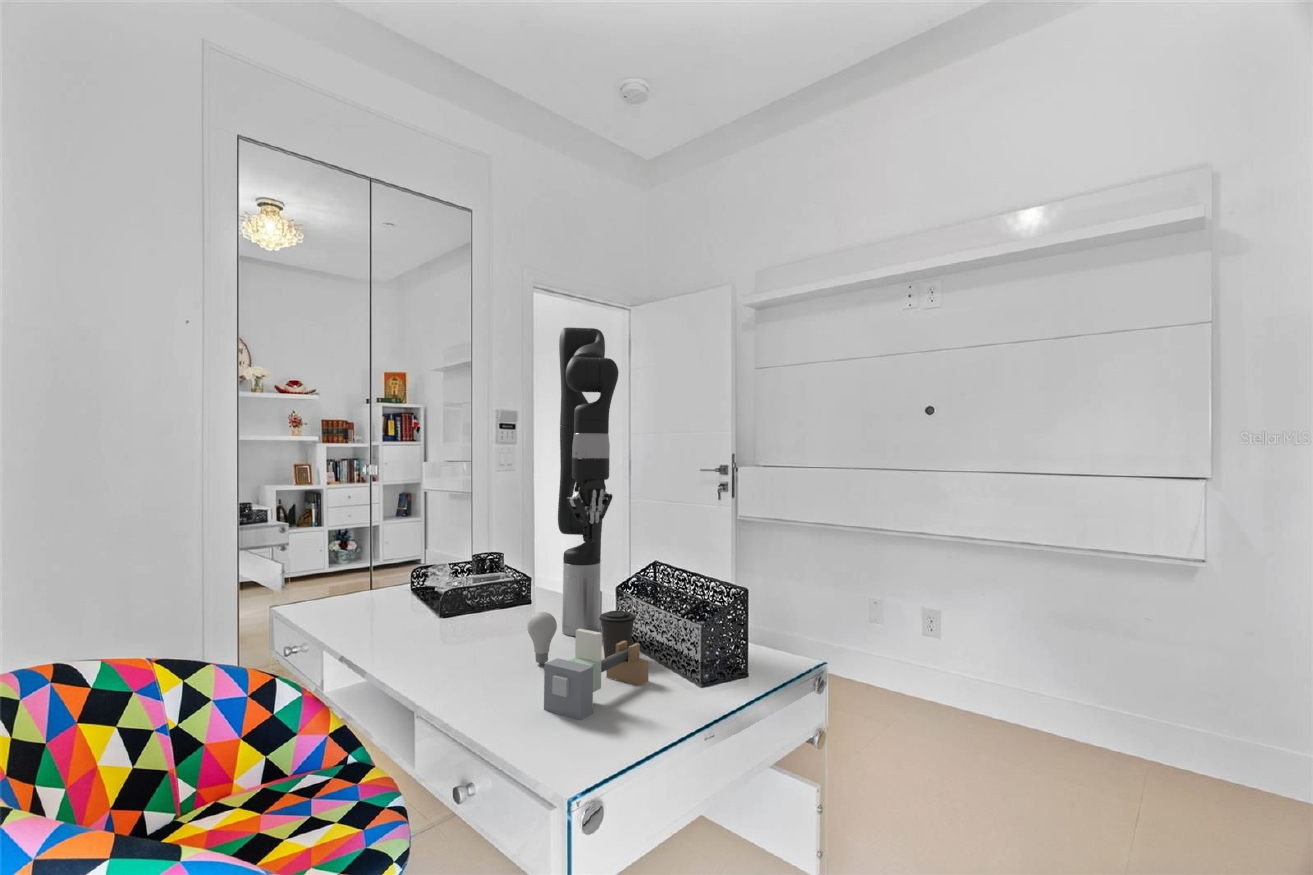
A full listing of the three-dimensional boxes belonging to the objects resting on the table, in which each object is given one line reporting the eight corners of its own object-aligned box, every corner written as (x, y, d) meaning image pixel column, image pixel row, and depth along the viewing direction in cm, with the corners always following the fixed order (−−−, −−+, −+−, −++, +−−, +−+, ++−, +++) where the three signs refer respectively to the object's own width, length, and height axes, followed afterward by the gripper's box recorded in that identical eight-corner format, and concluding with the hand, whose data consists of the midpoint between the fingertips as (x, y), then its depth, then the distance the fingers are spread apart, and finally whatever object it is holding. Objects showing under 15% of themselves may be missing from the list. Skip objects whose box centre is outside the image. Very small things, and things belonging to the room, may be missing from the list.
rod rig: (614, 673, 135) (615, 633, 135) (648, 680, 131) (648, 640, 131) (540, 710, 115) (541, 664, 115) (577, 721, 111) (578, 673, 111)
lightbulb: (528, 670, 136) (528, 616, 136) (525, 660, 142) (526, 609, 142) (557, 668, 138) (558, 614, 138) (554, 658, 143) (555, 607, 144)
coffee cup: (630, 666, 140) (631, 618, 140) (593, 662, 141) (594, 615, 141) (639, 654, 147) (639, 609, 148) (604, 651, 149) (604, 606, 149)
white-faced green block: (578, 683, 122) (579, 628, 122) (600, 688, 120) (601, 632, 120) (565, 689, 119) (566, 633, 119) (587, 695, 116) (588, 638, 116)
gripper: (595, 455, 142) (594, 536, 141) (555, 456, 130) (554, 544, 130) (624, 456, 138) (623, 539, 138) (586, 456, 126) (584, 547, 126)
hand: (589, 541), depth 134 cm, fingers closed
